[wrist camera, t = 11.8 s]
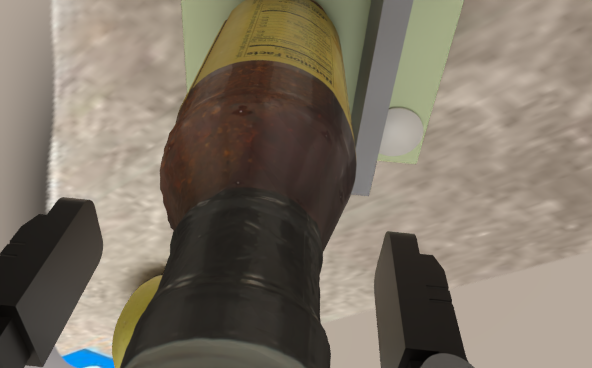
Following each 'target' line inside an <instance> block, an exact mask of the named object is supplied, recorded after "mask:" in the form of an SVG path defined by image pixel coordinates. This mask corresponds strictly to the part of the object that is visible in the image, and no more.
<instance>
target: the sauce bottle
mask: <svg viewBox="0 0 592 368" xmlns="http://www.w3.org/2000/svg"><path fill="white" fill-rule="evenodd" d="M356 166H357V162H356V150H355V142H354V135H353V127H352V121H351V115H350V108H349V101H348V94H347V86H346V79H345V70H344V64H343V57H342V49H341V44H340V39H339V35H338V33H337V30H336V28H335V26H334V25H333V23H332V21H331V20H330V19H329V17H328V16H327V14H326V13H325V11H324V10H323V8H322V7H321V6H320V5H319V4H318V3H317V2H315V1H313V0H245V1H243V2H242V3H241V4H239V5H238V6H237V7H236V8H235V9H233V10H232V11H231V13H230V15H229V17H228V19H227V20H225V21H224V23H223V25H222V26H221V28H220V30H219V32H218V34H217V36H216V37H215V39H214V42H213V44H212V46H211V48H210V49H209V51H208V53H207V55H206V57H205V59H204V61H203V63H202V65H201V67H200V69H199V71H198V73H197V75H196V77H195V79H194V81H193V83H192V85H191V87H190V89H189V91H188V93H187V95H186V97H185V99H184V101H183V103H182V105H181V107H180V110H179V112H178V116H177V120H176V124H175V126H174V128H173V129H172V131H171V132H170V133H169V137H168V141H167V144H166V146H165V148H164V155H163V157H162V162H161V167H160V190H161V192H162V194H163V203H164V206H165V208H166V211H167V215H168V221H169V223H170V226H171V228H172V229H173V230H174V232H173V235H172V240H171V244H170V256H169V258H168V261H167V264H166V267H165V270H164V273H163V275H162V278H161V281H160V283H159V286H158V289H157V291H156V293H155V295H154V296H153V298H152V300H151V301H150V303H149V304H148V306H147V308H146V309H145V311H144V312H143V313H142V315H141V317H140V318H139V320H138V322H137V324H136V326H135V328H134V331H133V334H132V337H131V339H130V342H129V344H128V346H127V348H126V351H125V354H124V357H123V360H122V363H121V366H120V368H330V357H331V356H330V355H331V353H330V345H329V343H328V339H327V336H326V333H325V330H324V329H323V327H322V325H321V323H320V287H319V280H320V277H319V275H320V272H321V268H322V263H323V251H324V249H325V247H326V245H327V243H328V241H329V239H330V237H331V235H332V233H333V231H334V229H335V227H336V225H337V223H338V220H339V218H340V216H341V214H342V212H343V210H344V208H345V206H346V204H347V202H348V200H349V198H350V195H351V193H352V190H353V186H354V183H355V178H356Z"/></svg>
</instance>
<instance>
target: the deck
mask: <svg viewBox="0 0 592 368" xmlns="http://www.w3.org/2000/svg"><path fill="white" fill-rule="evenodd" d="M243 1H245V0H181V8H182V23H183V38H184V53H185V68H186V83H187V93H188V91H189V89H190V87H191V85H192V83H193V81H194V79H195V77H196V75H197V73H198V71H199V69H200V67H201V65H202V63H203V61H204V59H205V57H206V55H207V53H208V51H209V49H210V48H211V46H212V44H213V42H214V39H215V37H216V36H217V34H218V32H219V30H220V28H221V26H222V25H223V23H224V21H225V20H227V19H228V17H229V15H230V13H231V11H232V10H233V9H235V8H236V7H237V6H238V5H239V4H241V3H242V2H243ZM313 1H315V2H317V3H318V4H319V5H320V6H321V7H322V8H323V10H324V11H325V13H326V14H327V16H328V17H329V19H330V20H331V21H332V23H333V25H334V26H335V28H336V30H337V33H338V35H339V39H340V44H341V49H342V57H343V64H344V70H345V79H346V86H347V94H348V101H349V108H350V115H351V121H352V127H353V135H354V142H355V150H356V162H357V166H356V178H355V183H354V186H353V190H352V193H351V194H352V195H362V196H369V194H370V189H371V185H372V181H373V176H374V172H375V167H376V163H377V161H387V162H398V163H409V164H416V163H417V160H418V156H419V153H420V150H421V146H422V143H423V139H424V136H425V132H426V129H427V126H428V122H429V119H430V115H431V112H432V108H433V105H434V102H435V98H436V95H437V91H438V88H439V84H440V81H441V78H442V74H443V71H444V67H445V64H446V60H447V57H448V54H449V50H450V47H451V43H452V40H453V36H454V33H455V30H456V26H457V23H458V19H459V16H460V12H461V9H462V5H463V2H464V0H313Z"/></svg>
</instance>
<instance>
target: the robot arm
mask: <svg viewBox="0 0 592 368" xmlns="http://www.w3.org/2000/svg"><path fill="white" fill-rule="evenodd" d="M102 251H103V239H102V235H101V231H100V227H99V223H98V218H97V214H96V210H95V206H94V203H93V202H92V201H91V200H85V199H75V198H65V197H62V198H60V199H59V200H58V201H57V202H56V203H55V205H54V206H53V207H52V209H51V210H50V211H49V213H48V214H47V215H43V214H39V215H37V216H36V217H34V218H33V219H31V220H30V221H28V222H27V223H25V224H24V225H23V226H21V228H20V229H19V230H18V231H17V233H16V234H15V235H14V236H13V238H12V239H11V240H10V244H7V246H6V247H5V248H4V249H3V250H2V252H1V253H0V368H24V367H25V365H29V366H38V367H43V366H44V364H45V362H46V360H47V358H48V357H49V355H50V353H51V351H52V349H53V347H54V345H55V344H56V342H57V340H58V338H59V336H60V334H61V332H62V331H63V329H64V327H65V325H66V323H67V321H68V319H69V318H70V316H71V314H72V312H73V310H74V308H75V306H76V305H77V303H78V301H79V299H80V297H81V295H82V293H83V292H84V290H85V288H86V286H87V284H88V282H89V280H90V279H91V277H92V275H93V273H94V271H95V269H96V267H97V266H98V264H99V262H100V259H101V256H102ZM448 288H449V287H448V283H447V279H446V275H445V271H444V269H443V268H442V267H441V265H440V264H439V263H438V261H437V260H436V259H435V257H434V256H433V255H425V254H420V253H419V248H418V243H417V238H416V236H415V234H409V233H399V232H389V231H387V232H386V234H385V237H384V241H383V245H382V249H381V252H380V256H379V260H378V264H377V267H376V272H375V280H374V294H375V305H376V316H377V327H378V338H379V351H380V362H381V368H474V367H473V366H472V365H471V364H470V363H469V362H468V360H467V358H466V355H465V351H464V347H463V343H462V339H461V335H460V331H459V327H458V323H457V319H456V315H455V311H454V307H453V305H452V299H451V295H450V291H448Z"/></svg>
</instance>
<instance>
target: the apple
mask: <svg viewBox="0 0 592 368" xmlns="http://www.w3.org/2000/svg"><path fill="white" fill-rule="evenodd" d="M161 278H162V275H159V276H156V277H154V278H152V279H150V280H149V281H147V282H145V283H144V284H142V285H141V286H140V287H139V288H138V289H137V290H136V291H135V292H134V293H133V294H132V296H131V297H130V299H129V300H128V302H127V303H126V305H125V307H124V309H123V310H122V313H121V315H120V317H119V319H118V321H117V324H116V327H115V331H114V335H113V343H112V355H113V361H114V366H115V368H120V366H121V363H122V360H123V357H124V354H125V351H126V348H127V346H128V344H129V342H130V339H131V337H132V334H133V331H134V328H135V326H136V324H137V322H138V320H139V318H140V317H141V315H142V313H143V312H144V311H145V309H146V308H147V306H148V304H149V303H150V301H151V300H152V298H153V296H154V295H155V293H156V291H157V289H158V286H159V283H160V281H161Z"/></svg>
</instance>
